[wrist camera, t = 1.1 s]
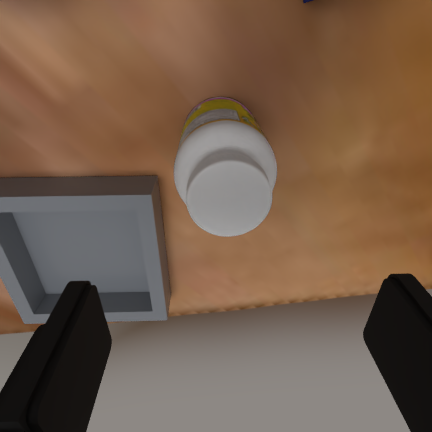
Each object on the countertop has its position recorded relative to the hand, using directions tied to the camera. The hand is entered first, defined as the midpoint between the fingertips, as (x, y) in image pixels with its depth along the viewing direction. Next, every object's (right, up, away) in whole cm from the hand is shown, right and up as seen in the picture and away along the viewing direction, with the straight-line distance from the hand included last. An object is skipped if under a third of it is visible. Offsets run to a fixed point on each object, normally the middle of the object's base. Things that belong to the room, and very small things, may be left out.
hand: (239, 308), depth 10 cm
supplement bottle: (0, +11, +17) cm, 20 cm away
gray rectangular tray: (-14, 0, +23) cm, 27 cm away
